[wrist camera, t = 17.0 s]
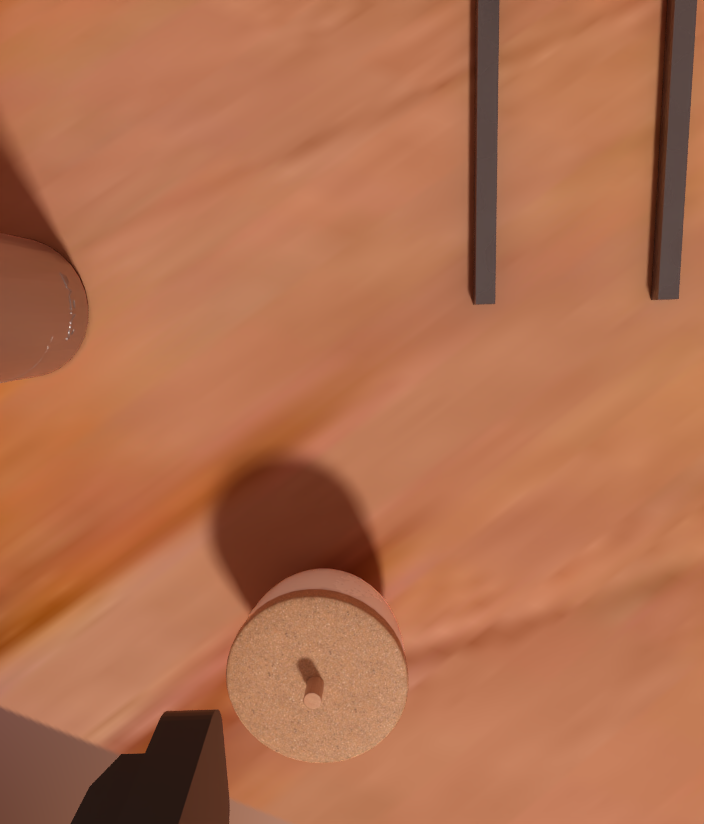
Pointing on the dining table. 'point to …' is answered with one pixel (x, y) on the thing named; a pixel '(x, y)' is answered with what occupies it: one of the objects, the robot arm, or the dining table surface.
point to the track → (670, 149)
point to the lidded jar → (319, 668)
